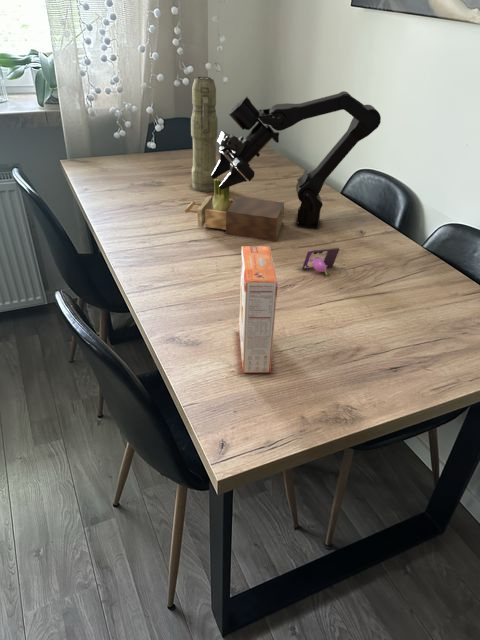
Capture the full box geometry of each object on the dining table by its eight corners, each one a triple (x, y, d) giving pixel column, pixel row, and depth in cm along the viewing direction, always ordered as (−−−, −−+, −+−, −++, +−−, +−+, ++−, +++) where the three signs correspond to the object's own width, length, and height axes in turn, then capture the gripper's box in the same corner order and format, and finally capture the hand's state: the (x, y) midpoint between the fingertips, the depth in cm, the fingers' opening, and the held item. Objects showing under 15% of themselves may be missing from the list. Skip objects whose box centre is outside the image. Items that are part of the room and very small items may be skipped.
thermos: (195, 193, 175) (194, 81, 154) (189, 182, 184) (186, 74, 163) (220, 192, 178) (222, 81, 157) (213, 181, 187) (213, 74, 166)
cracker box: (237, 333, 110) (240, 244, 97) (264, 333, 111) (271, 245, 98) (240, 374, 99) (244, 280, 86) (270, 374, 99) (279, 280, 87)
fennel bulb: (231, 222, 154) (232, 182, 146) (215, 223, 152) (216, 184, 145) (224, 215, 158) (225, 176, 151) (209, 216, 156) (209, 177, 149)
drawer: (182, 224, 152) (181, 206, 149) (194, 210, 162) (193, 193, 158) (244, 233, 150) (244, 215, 147) (252, 218, 159) (253, 201, 156)
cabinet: (225, 234, 151) (226, 211, 146) (235, 217, 161) (236, 196, 157) (275, 241, 149) (277, 218, 145) (282, 224, 159) (284, 202, 155)
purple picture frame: (338, 245, 133) (306, 248, 130) (345, 260, 131) (313, 263, 128) (331, 263, 139) (300, 266, 136) (337, 277, 136) (307, 281, 133)
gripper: (226, 113, 146) (189, 154, 150) (245, 130, 132) (204, 174, 136) (250, 141, 153) (215, 179, 157) (271, 160, 139) (231, 201, 143)
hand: (216, 182), depth 148 cm, fingers open, 9 cm apart
